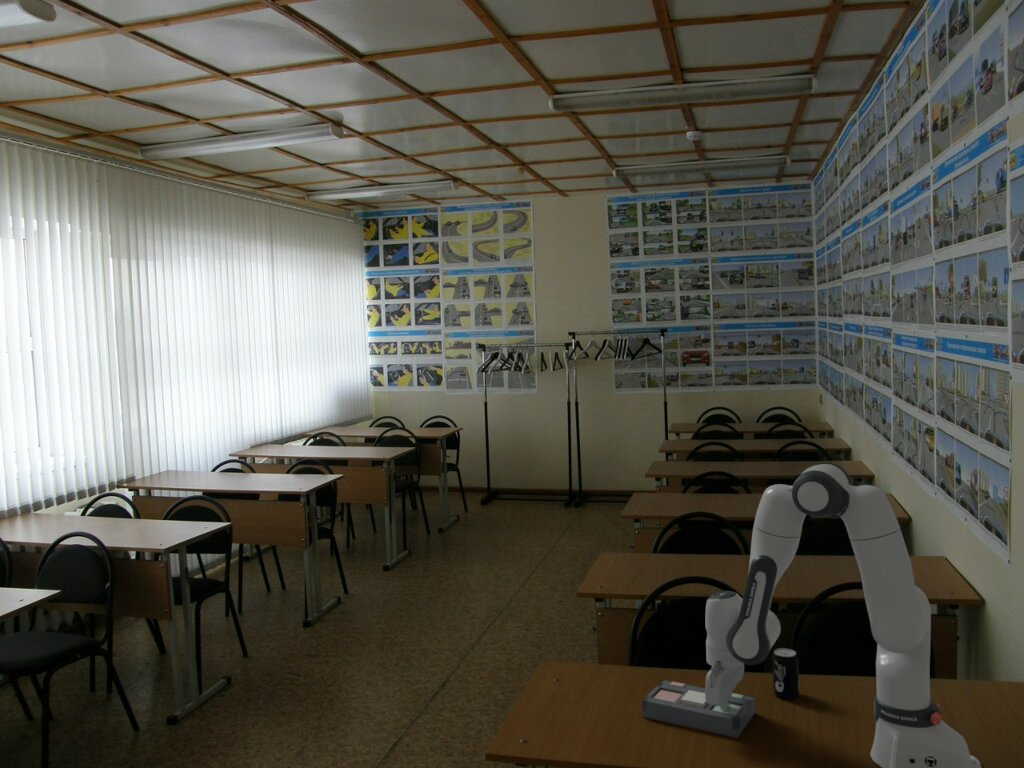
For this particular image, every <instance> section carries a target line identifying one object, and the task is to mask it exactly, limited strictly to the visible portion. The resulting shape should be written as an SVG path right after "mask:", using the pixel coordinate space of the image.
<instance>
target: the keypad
mask: <svg viewBox="0 0 1024 768" xmlns="http://www.w3.org/2000/svg"><path fill="white" fill-rule="evenodd" d="M660 690H664V691H669V692H674V693H679V694H682V695H681V696H680V697H679V698H678V699H677V700H676V701H675V702H671V701H666V700H661V699H656V698H653V697H654V696H655V695H656V694H657V693H658V692H659V691H660ZM689 690H691V691H696V692H701V693H705V687H701V686H694V685H689V684H686V683H684V682H676V681H669V680H663V681H662V682H659V683H658V684H657V685H656V686H655V687H654V688H653V689H652V690H651V691H650V692H649V693H648V694H647V695H646V696H645V697H644V698H643V699H642V700H641V701H642V702H641V705H642V718H644V719H645V718H646V719H650V720H655V721H660V722H664V723H669V724H673V725H677V726H681V727H686V728H689V729H694V730H695V729H696V730H699V731H704V732H707V733H712V734H718V735H723V736H726V737H731V738H735V739H738V738H739V736H740V735H741V734H742V732H743V731H744V729H745V728H746V727H747V725H748V724H749V722H750V721H751V719H752V718H753V716H754V715H755V714H756V705H755V701H756V700H755V697H751V696H746V695H743V694H739V693H735V692H734V693H733V692H732V696H731V704H733V705H738V706H742V707H741V708H740V710H739V711H738V712H737V714H736V715H733V714H728V713H723V712H719V711H714V710H712V709H713V708H714V707H715V706H714V705H709V704H708V705H707V706H706V707H705V708H700V707H695V706H690V705H685V704H681V698H682V697H683V696H684V695H685V694H686V693H687V692H688V691H689Z"/></svg>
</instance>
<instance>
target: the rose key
mask: <svg viewBox="0 0 1024 768" xmlns="http://www.w3.org/2000/svg"><path fill="white" fill-rule="evenodd" d="M681 695H682V694H679V693H674V692H669V691H664V690H660V691H659V692H658V693H657V694H656V695H655V696H654V697H653V698H656V699H661V700H666V701H671V702H675V701H676V700H677V699H678V698H679V697H680V696H681Z"/></svg>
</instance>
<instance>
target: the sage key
mask: <svg viewBox="0 0 1024 768" xmlns="http://www.w3.org/2000/svg"><path fill="white" fill-rule="evenodd" d="M741 707H742V706H738V705H733V704H731V706H730V707H729V708H728V710H727V711H723V710H721V709H720V706H715V707H714V708H713V709H712V710H714V711H719V712H723V713H728V714H733V715H736V714H737V712H738V711H739V710H740V708H741Z"/></svg>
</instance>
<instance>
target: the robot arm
mask: <svg viewBox="0 0 1024 768" xmlns="http://www.w3.org/2000/svg"><path fill="white" fill-rule="evenodd" d="M806 516H809V517H817V518H829V519H839V518H841V520H842V521H843V523H844V526H845V529H846V531H847V534H848V538H849V542H850V543H851V547H852V551H853V554H854V557H855V560H856V564H857V565H858V569H859V574H860V578H861V584H862V585H861V586H862V590H863V595H864V601H865V606H866V610H867V613H868V618H869V622H870V630H871V634H872V637H873V639H874V641H875V642H876V643H877V646H876V648H877V649H876V657H875V675H876V676H875V678H876V679H875V680H876V681H875V683H876V694H875V696H874V701H873V705H874V707H873V709H874V718H875V722H876V723H875V731H874V732H875V733H874V737H873V738H874V739H873V743H872V746H871V747H872V748H871V750H870V757H871V759H872V761H873V762H874V763H875V764H876V765H878V766H879V767H881V768H982V764H981V763H980V760H979V759H977V757H975V756H974V755H971V754H970V749H969V745H968V743H967V741H966V739H965V738H964V737H963V735H961V734H960V733H959V732H957V731H956V730H955V729H954V728H952V727H951V726H950V725H948V724H947V723H946V722H944V721H943V720H942V715H941V713H942V711H941V705H940V703H939V702H937V704H935V703H934V702H933V701H931V684H930V683H931V681H930V679H931V678H930V677H931V676H930V674H931V673H930V669H931V668H930V663H931V639H932V637H931V631H932V629H931V628H932V626H931V625H932V618H931V616H932V609H931V604H930V601H929V599H928V597H927V595H926V593H925V592H924V591H923V590H922V589H920V587H918V586H917V585H916V584H915V583H916V582H915V578H914V573H913V568H912V561H911V558H910V555H909V551H908V548H907V546H906V542H905V540H904V536H903V533H902V530H901V527H900V525H899V520H898V519H897V516H896V514H895V512H894V509H893V507H892V505H891V503H890V501H889V499H888V497H887V496H886V493H885V492H884V491H883V489H881V488H880V487H877V486H876V485H875V486H874V485H870V484H862V485H857V486H856V485H852V484H851V479H850V476H849V474H848V473H847V471H846V470H845V469H844V468H843V467H841V466H840V465H839V464H836V463H833V462H826V461H825V462H820V463H817V464H814V465H812V466H810V467H808V468H806V469H804V471H803V472H801V474H800V475H798V477H797V478H796V479H795V480H794V482H793V484H792V485H788V484H784V483H783V484H781V483H779V484H778V483H777V484H773V485H769V486H768V487H767V488H765V490H764V491H763V493H762V496H761V498H760V500H759V504H758V507H757V509H756V513H755V517H754V521H753V522H754V523H753V527H752V533H751V544H750V554H749V562H748V563H749V566H748V572H747V573H748V574H747V575H748V576H747V578H746V579H747V580H746V584H745V585H746V586H745V589H744V593H743V597H741V596H740V594H738V593H737V592H735V591H732V590H724V591H718V592H715V593H712V595H710V596H709V597H708V598H707V600H706V603H705V604H706V605H705V612H704V613H705V614H704V615H705V617H704V618H705V619H704V620H705V621H704V623H705V630H706V635H707V636H706V640H705V652H706V654H705V655H706V659H705V660H706V663H707V664H708V665H710V666H711V668H710V670H709V671H708V672H707V674H706V677H705V687H704V688H705V700H706V703H707V704H709V705H714V706H720V709H721V710H723V711H727V710H728V708H729V707H730V706H731V696H732V693H733V690H734V689H735V688H736V686H737V685H738V684H739V683H740V681H741V680H742V679H743V677H744V673H745V665H749V666H756V665H760V664H762V663H763V662H764V661H766V659H767V658H768V656H769V653H770V651H771V650H772V647H773V646H774V645H775V643H776V641H777V640H778V638H779V636H780V635H781V632H782V627H781V622H780V619H779V618H778V616H777V614H775V613H774V612H773V611H772V610H770V608H771V604H772V599H773V595H774V591H775V589H776V587H777V585H778V583H779V581H780V579H781V578H782V576H783V575H784V573H785V572H786V570H787V569H788V568H789V567H790V565H791V564H792V562H793V561H794V558H795V556H796V553H797V551H798V548H799V545H800V540H801V536H802V530H803V524H804V521H805V518H806Z"/></svg>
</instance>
